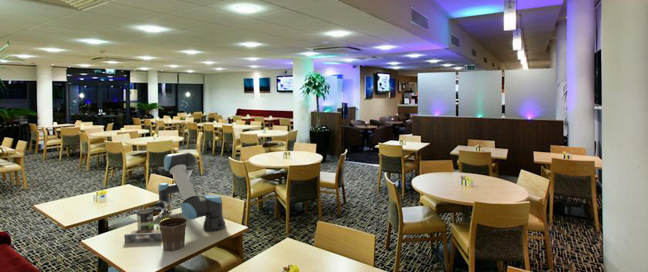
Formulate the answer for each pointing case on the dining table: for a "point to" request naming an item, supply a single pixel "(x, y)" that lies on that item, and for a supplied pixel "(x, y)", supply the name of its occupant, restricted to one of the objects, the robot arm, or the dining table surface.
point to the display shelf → (143, 236)
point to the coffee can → (145, 219)
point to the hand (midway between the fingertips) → (149, 216)
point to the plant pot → (173, 233)
